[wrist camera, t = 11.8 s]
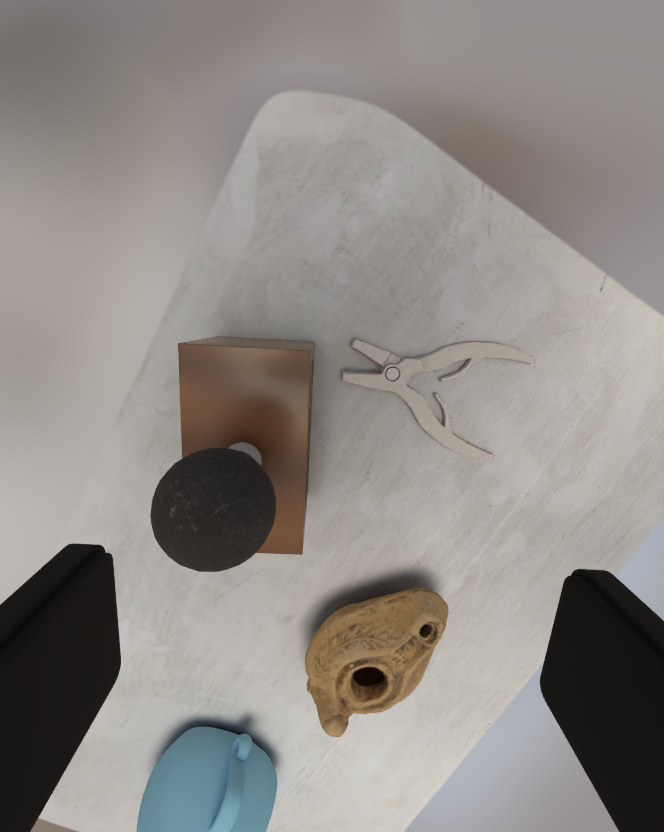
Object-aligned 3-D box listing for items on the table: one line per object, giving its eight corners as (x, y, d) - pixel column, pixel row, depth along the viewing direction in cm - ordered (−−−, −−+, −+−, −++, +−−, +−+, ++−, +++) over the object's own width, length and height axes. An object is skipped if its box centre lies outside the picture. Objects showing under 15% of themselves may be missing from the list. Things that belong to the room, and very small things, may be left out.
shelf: (217, 336, 33) (177, 343, 24) (314, 341, 33) (311, 350, 24) (218, 493, 36) (185, 550, 27) (307, 497, 36) (302, 554, 27)
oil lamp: (461, 590, 39) (495, 658, 31) (374, 694, 42) (386, 781, 34) (369, 537, 37) (381, 594, 30) (285, 649, 40) (276, 728, 32)
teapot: (65, 946, 34) (157, 814, 31) (125, 800, 45) (199, 689, 41) (197, 989, 36) (297, 870, 33) (225, 839, 46) (303, 736, 43)
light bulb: (184, 464, 26) (100, 554, 16) (232, 396, 25) (174, 448, 15) (256, 511, 27) (217, 623, 17) (306, 447, 26) (295, 528, 16)
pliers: (495, 466, 34) (329, 417, 33) (488, 460, 36) (328, 412, 34) (543, 356, 32) (367, 298, 31) (533, 354, 33) (365, 299, 32)
